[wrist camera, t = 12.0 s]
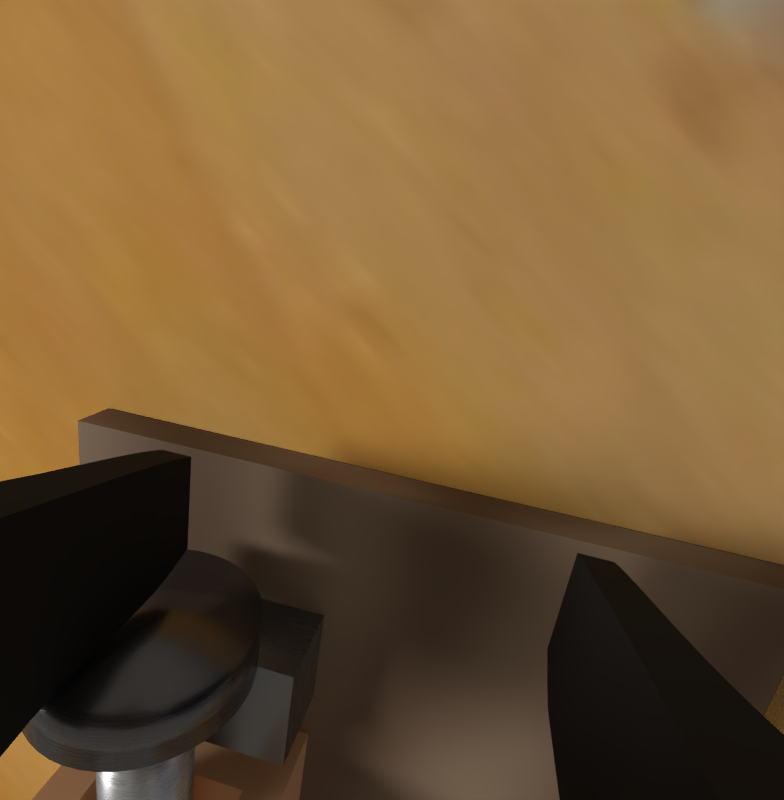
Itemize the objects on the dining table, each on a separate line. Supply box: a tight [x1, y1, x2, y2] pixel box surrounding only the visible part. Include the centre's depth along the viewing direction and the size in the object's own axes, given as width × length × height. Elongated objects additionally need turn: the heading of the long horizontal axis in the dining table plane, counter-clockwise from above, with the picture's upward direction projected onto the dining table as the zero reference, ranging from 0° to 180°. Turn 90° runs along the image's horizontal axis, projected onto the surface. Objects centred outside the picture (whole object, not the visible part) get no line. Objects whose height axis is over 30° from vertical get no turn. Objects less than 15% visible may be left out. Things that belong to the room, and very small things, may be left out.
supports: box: [205, 598, 324, 767], centre depth 14 cm, size 5×11×2 cm, turn 171°
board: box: [78, 408, 784, 800], centre depth 14 cm, size 16×18×1 cm
